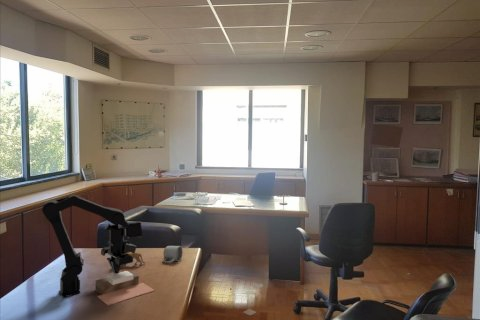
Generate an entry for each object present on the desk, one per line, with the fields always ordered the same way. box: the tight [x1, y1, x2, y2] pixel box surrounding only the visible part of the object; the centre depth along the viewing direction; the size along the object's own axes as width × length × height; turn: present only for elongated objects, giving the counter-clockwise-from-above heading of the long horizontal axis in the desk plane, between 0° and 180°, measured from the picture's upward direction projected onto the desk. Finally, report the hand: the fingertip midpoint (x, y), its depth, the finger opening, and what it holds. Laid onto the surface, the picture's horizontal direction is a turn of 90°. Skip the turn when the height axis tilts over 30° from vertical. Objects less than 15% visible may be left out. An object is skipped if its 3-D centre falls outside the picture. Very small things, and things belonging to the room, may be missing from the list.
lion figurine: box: [122, 251, 146, 268], centre depth 173 cm, size 15×5×9 cm, turn 110°
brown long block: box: [94, 270, 140, 295], centre depth 147 cm, size 16×7×4 cm, turn 134°
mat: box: [97, 282, 155, 306], centre depth 141 cm, size 20×10×1 cm, turn 134°
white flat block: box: [106, 270, 133, 285], centre depth 145 cm, size 9×6×2 cm, turn 134°
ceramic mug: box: [162, 245, 184, 265], centre depth 182 cm, size 11×8×8 cm
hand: (116, 274), depth 148 cm, fingers closed
